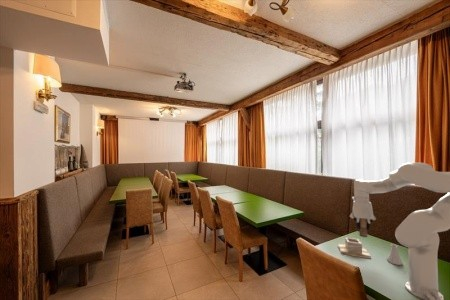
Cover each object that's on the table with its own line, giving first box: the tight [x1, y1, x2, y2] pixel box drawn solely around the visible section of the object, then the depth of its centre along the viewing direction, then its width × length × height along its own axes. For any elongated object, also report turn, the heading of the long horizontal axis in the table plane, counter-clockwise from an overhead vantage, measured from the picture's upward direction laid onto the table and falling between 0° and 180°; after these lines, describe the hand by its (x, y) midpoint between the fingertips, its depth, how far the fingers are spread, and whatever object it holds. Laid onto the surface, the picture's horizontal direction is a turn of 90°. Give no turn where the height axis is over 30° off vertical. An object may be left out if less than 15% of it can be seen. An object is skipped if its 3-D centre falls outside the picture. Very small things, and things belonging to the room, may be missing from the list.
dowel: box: [358, 218, 368, 238], centre depth 119 cm, size 4×4×12 cm
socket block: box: [337, 236, 372, 259], centre depth 128 cm, size 12×16×8 cm
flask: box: [386, 244, 404, 266], centre depth 116 cm, size 7×7×10 cm
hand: (363, 228), depth 119 cm, fingers closed on dowel, 4 cm apart
